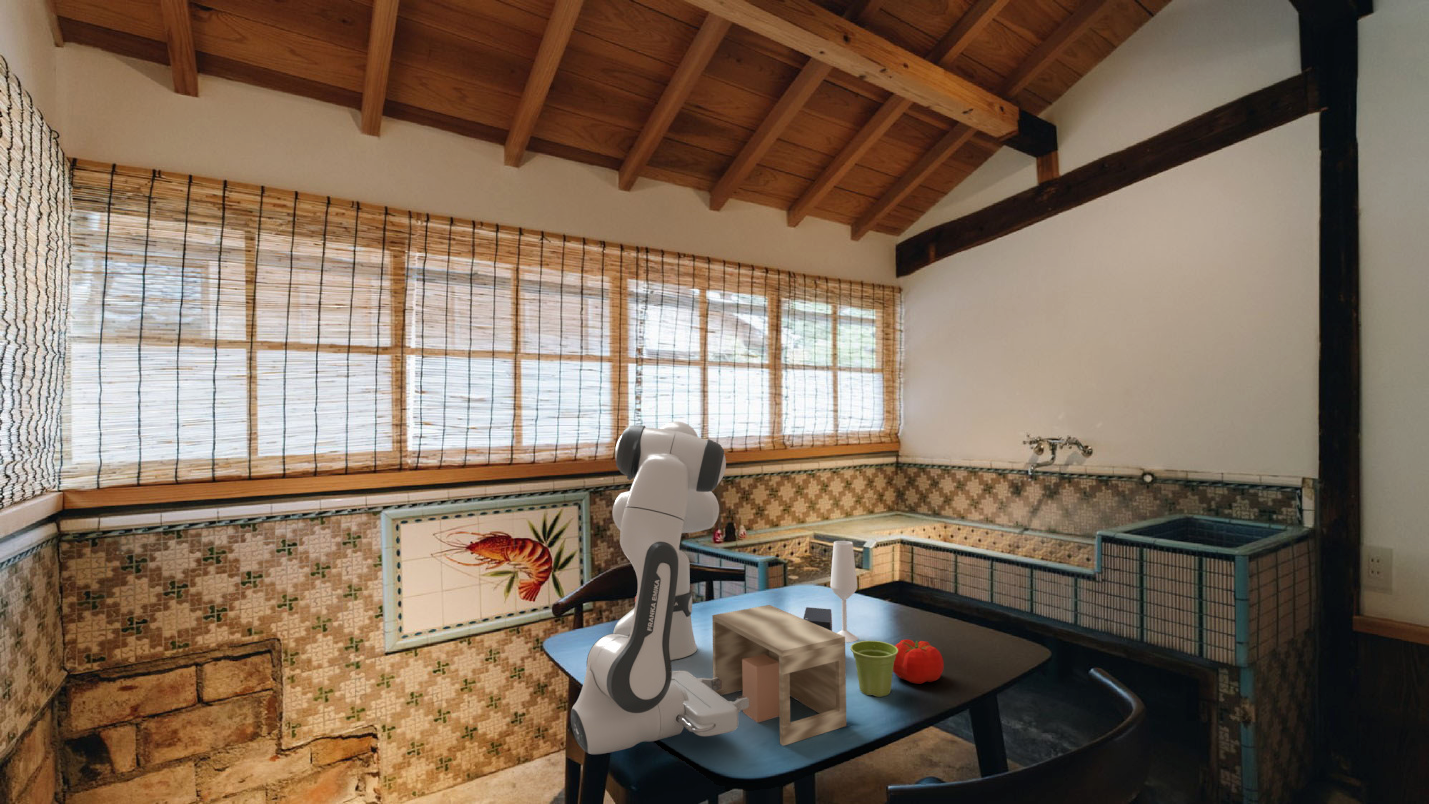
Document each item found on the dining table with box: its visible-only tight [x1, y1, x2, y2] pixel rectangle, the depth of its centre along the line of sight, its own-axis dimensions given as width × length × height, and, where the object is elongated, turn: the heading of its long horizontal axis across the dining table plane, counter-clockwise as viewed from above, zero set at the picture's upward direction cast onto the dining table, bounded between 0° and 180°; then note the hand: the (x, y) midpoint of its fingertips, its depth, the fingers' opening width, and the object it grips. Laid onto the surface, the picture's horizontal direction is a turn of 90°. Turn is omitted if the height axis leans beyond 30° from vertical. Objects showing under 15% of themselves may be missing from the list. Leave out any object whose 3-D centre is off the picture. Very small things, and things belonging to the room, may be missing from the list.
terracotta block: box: [742, 654, 780, 723], centre depth 124 cm, size 5×5×10 cm
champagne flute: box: [829, 540, 859, 643], centre depth 167 cm, size 7×7×24 cm
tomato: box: [893, 638, 945, 685], centre depth 140 cm, size 11×11×8 cm
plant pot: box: [850, 640, 898, 698], centre depth 134 cm, size 9×9×9 cm
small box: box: [802, 606, 833, 631], centre depth 152 cm, size 11×6×10 cm, turn 168°
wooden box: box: [711, 604, 847, 746], centre depth 126 cm, size 14×24×16 cm, turn 30°
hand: (733, 691), depth 121 cm, fingers open, 8 cm apart
